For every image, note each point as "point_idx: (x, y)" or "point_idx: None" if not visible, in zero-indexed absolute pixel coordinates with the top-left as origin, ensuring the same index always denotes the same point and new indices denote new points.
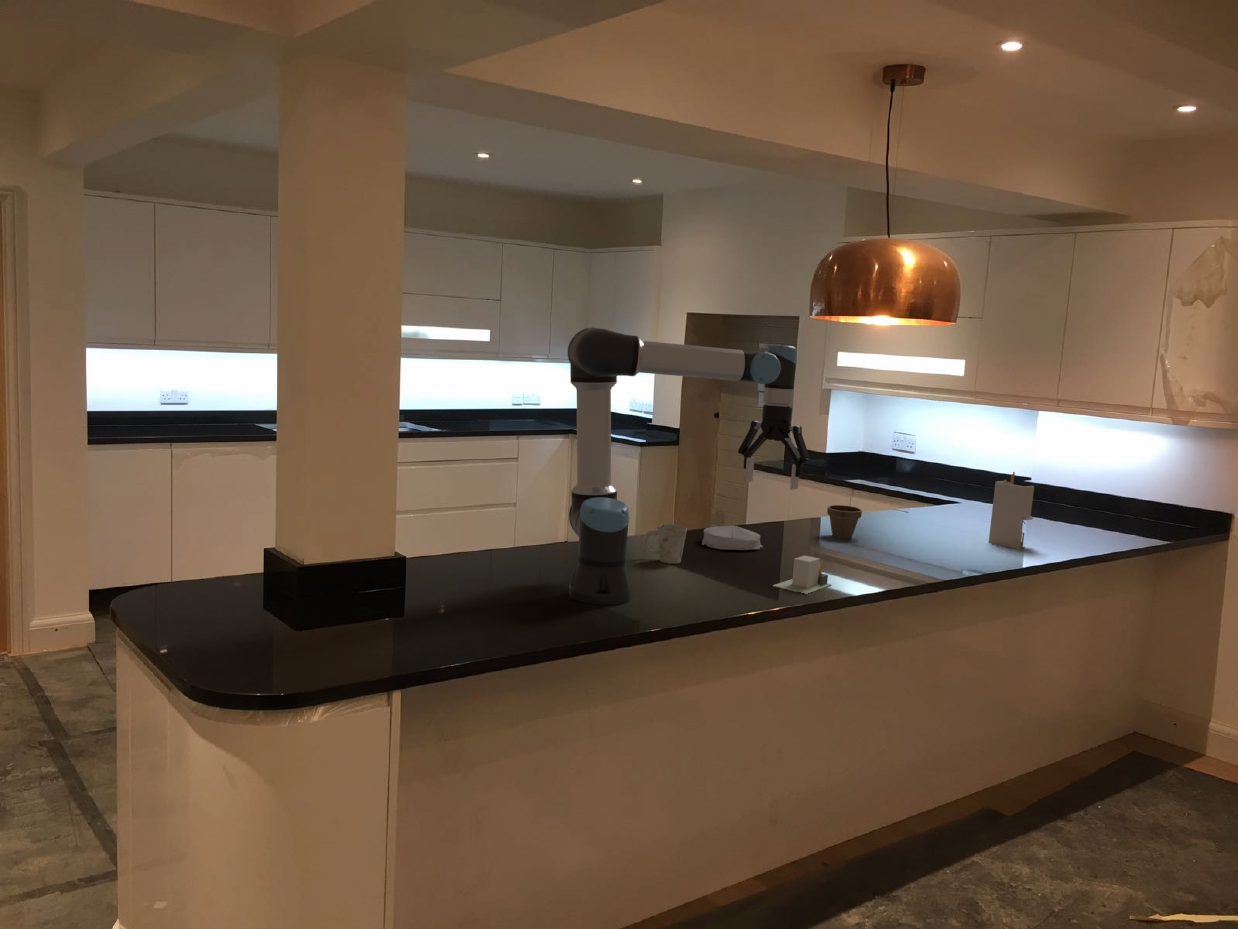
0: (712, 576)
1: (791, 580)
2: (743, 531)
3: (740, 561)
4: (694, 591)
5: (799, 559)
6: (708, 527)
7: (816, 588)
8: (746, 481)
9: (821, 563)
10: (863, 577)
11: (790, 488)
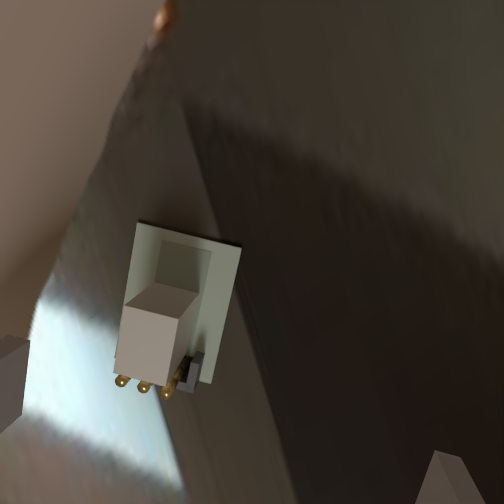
0: (432, 250)
1: (214, 335)
2: None
3: (409, 475)
4: (428, 30)
5: (160, 317)
6: None
7: (132, 291)
8: (445, 457)
9: (118, 375)
10: (77, 487)
11: (24, 343)
